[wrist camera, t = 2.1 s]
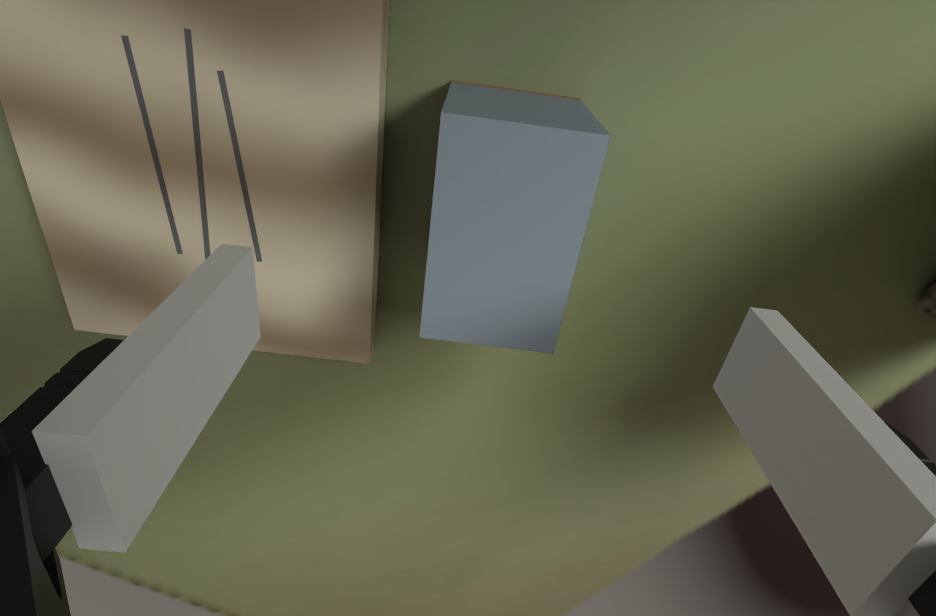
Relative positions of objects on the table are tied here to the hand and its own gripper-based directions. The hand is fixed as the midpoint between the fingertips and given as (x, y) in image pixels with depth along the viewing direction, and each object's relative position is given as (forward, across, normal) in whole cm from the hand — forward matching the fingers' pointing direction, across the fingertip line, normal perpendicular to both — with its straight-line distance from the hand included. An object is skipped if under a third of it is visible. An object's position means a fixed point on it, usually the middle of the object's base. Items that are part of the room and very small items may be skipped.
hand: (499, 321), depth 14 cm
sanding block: (+10, 0, 0) cm, 10 cm away
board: (+10, -12, +1) cm, 15 cm away
